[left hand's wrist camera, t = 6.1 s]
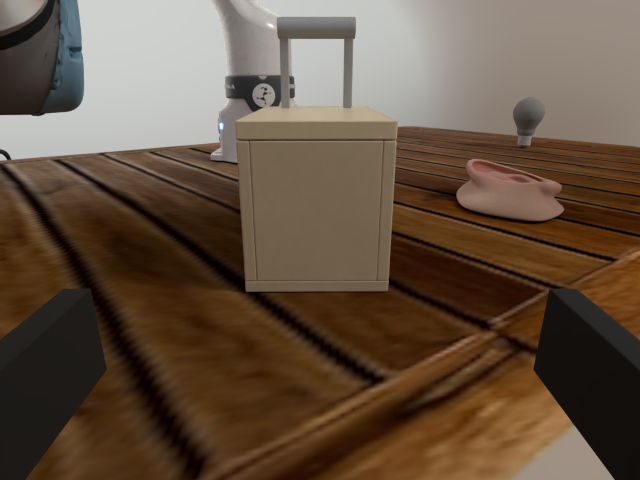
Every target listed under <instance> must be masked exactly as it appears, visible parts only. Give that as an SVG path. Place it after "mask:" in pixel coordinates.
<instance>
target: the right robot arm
mask: <svg viewBox="0 0 640 480" xmlns="http://www.w3.org/2000/svg"><path fill="white" fill-rule="evenodd" d="M210 1H211V2H212V4H213V6H214V8H215V10H216V12H217V14H218V17H219V20H220V23H221V26H222V31H223V37H224V44H225V53H226V63H227V75H228V76H226V77H225V89H226V97H227V98H228V101H227V103H226V105H225V106H224V107H223V108H222V110H221V111H220V112H219V118H218V129H219V134H220V136H219V141H220V142H221V147H220V148H219V149H218V150H216V151H215V152H213V153H212V154H211V160H218V161H228V162H234V163H238V162H237V146H236V142H237V141H238V140H237V139H236V131H235V121H236V120H238V119H241V118H243V117H245V116H247V115H249V114H251V113H253V112H255V111H258V110H260V109H262V108H264V107H279V106H281V73H280V39H278V36H277V17H280V16H278V15H277V14H275V13H273V12H272V11H270V10H268V9H266V8H264V7H262V6H260V5H259V3H258V0H210ZM288 44H289V87H290V106H297V105H296V104H295V102H294V100H293V98H294V96H295V84H294V77H293V76H291V75H292V71H291V39H288Z"/></svg>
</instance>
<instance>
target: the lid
mask: <svg viewBox="0 0 640 480" xmlns="http://www.w3.org/2000/svg"><path fill="white" fill-rule="evenodd" d="M355 32H356V18H355V17H277V36H278V39H280V73H281V106H279V107H264V108H262V109H260V110H258V111H255V112H253V113H251V114H249V115H247V116H245V117H243V118H241V119H238V120H236V121H235V131H236V139H237V140H396V139H397V124H398V122H397V120H394V119H392V118H390V117H388V116H386V115H384V114H382V113H380V112H378V111H376V110H374V109H371V108H369V107H367V106H352V67H353V39H354V38H355ZM288 39H344V89H343V106H305V107H304V106H303V107H302V106H290V87H289V44H288Z"/></svg>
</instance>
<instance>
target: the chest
mask: <svg viewBox="0 0 640 480" xmlns="http://www.w3.org/2000/svg"><path fill="white" fill-rule="evenodd" d="M236 146H237V162H238V177H239V193H240V208H241V223H242V239H243V254H244V270H245V280H246V281H245V287H246V292H334V291H388V279H389V262H390V245H391V228H392V211H393V193H394V176H395V159H396V141H395V140H238V141H237V142H236Z"/></svg>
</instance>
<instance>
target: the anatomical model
mask: <svg viewBox="0 0 640 480" xmlns="http://www.w3.org/2000/svg"><path fill="white" fill-rule="evenodd" d="M467 172H468V174H469V176H470V178H471V179H470V181H469V182H467V183H466V184H464V185H463V186H462V187H460V189H459V190H458V191H457V200H458V202H459V203H460V204H461V205H462V206H463V207H465V208H467V209H469V210H472V211H475V212H479V213H483V214H488V215H493V216H498V217H504V218H510V219H517V220H524V221H545V220H549V219H552V218H554V217H556V216H558V215H560V214H561V213H562V212H563V211H564V208H563V207H562V206H561V205H560V204H559V203H558V202H557V201H556V200H555V199H554V196H555V195H556V194H558V193H559V192H560V191H561V187H562V186H561V185H560V184H559V183H557V182H554V181H551V180H547V179H544V178H541V177H538V176H536V175H533V174H530V173H527V172H524V171H520V170H517V169H513V168H510V167H506V166H503V165H499V164H496V163H492V162H489V161H484V160H479V159H472V160H470V161H468V163H467Z"/></svg>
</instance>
